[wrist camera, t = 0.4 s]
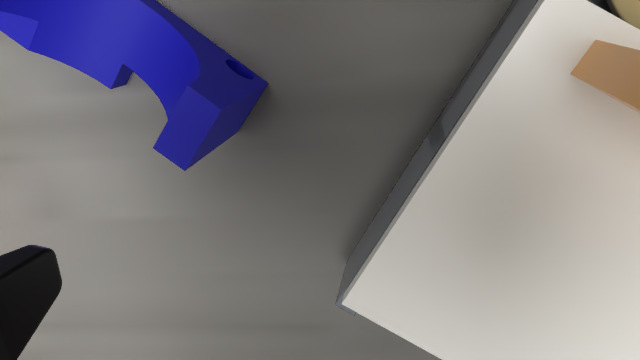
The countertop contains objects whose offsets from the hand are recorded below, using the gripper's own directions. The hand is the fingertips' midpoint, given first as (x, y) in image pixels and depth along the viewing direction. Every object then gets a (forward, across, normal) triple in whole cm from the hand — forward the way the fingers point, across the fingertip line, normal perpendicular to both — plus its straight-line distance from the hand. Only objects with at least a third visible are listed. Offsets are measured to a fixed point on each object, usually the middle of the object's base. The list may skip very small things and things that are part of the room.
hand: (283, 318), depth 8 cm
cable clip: (+16, +11, +1) cm, 19 cm away
